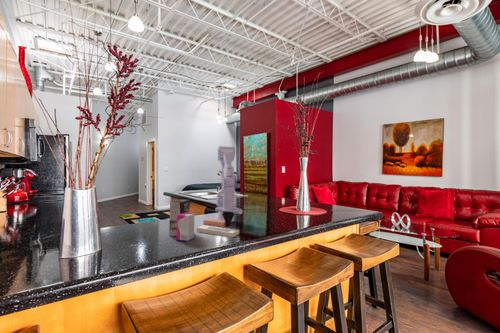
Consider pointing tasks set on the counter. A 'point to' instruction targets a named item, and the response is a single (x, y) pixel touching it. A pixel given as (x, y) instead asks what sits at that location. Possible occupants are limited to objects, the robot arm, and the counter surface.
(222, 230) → the ticket board
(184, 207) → the coffee box
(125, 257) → the counter surface
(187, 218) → the supplement box
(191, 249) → the counter surface
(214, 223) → the stub tab
